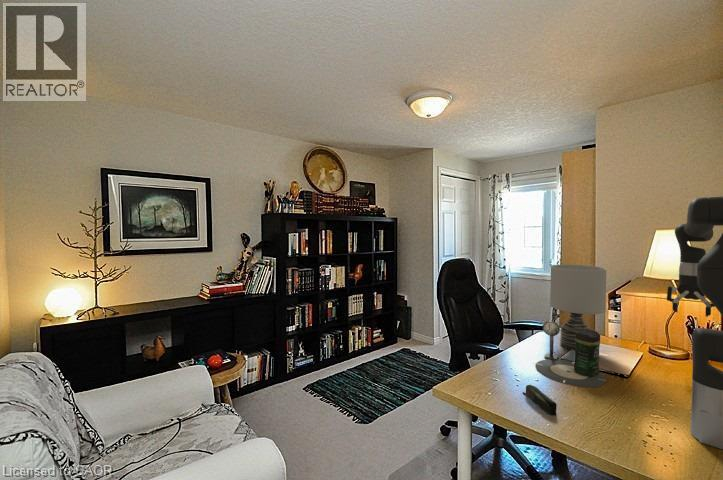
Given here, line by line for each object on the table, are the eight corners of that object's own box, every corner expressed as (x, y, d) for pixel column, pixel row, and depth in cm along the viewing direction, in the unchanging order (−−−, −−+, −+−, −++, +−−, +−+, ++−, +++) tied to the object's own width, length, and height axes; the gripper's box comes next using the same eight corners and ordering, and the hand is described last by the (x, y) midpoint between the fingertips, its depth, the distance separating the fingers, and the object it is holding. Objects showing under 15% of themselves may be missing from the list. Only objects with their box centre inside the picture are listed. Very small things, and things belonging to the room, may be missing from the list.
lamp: (594, 360, 151) (596, 272, 149) (541, 345, 171) (542, 267, 169) (611, 348, 165) (613, 267, 164) (561, 335, 185) (562, 263, 183)
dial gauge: (558, 361, 150) (559, 323, 150) (542, 357, 155) (542, 320, 154) (560, 358, 154) (561, 320, 153) (544, 354, 159) (544, 318, 158)
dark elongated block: (558, 402, 108) (528, 380, 123) (550, 403, 108) (521, 381, 122) (557, 416, 108) (527, 392, 123) (550, 417, 108) (520, 393, 123)
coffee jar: (591, 379, 132) (592, 335, 132) (571, 371, 139) (571, 330, 139) (602, 373, 137) (603, 331, 136) (582, 366, 144) (583, 326, 143)
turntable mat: (603, 394, 121) (603, 393, 121) (528, 373, 139) (528, 373, 139) (608, 370, 141) (608, 369, 141) (542, 355, 158) (542, 354, 158)
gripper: (666, 273, 129) (665, 312, 130) (719, 276, 119) (717, 319, 119) (668, 271, 134) (667, 309, 135) (719, 274, 124) (718, 316, 124)
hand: (691, 314), depth 127 cm, fingers open, 8 cm apart
